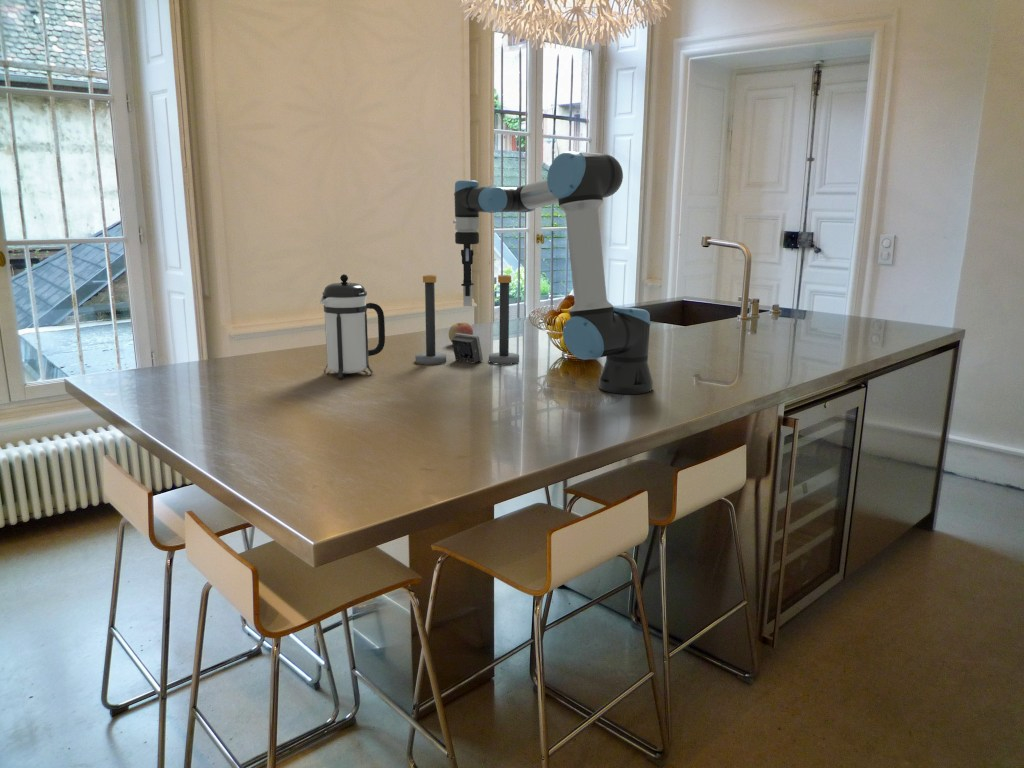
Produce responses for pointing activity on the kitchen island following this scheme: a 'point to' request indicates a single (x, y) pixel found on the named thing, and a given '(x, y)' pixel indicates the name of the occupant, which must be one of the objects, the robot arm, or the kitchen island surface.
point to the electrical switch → (467, 347)
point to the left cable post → (430, 326)
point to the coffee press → (349, 328)
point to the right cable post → (504, 325)
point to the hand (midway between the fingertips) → (467, 305)
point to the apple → (460, 330)
